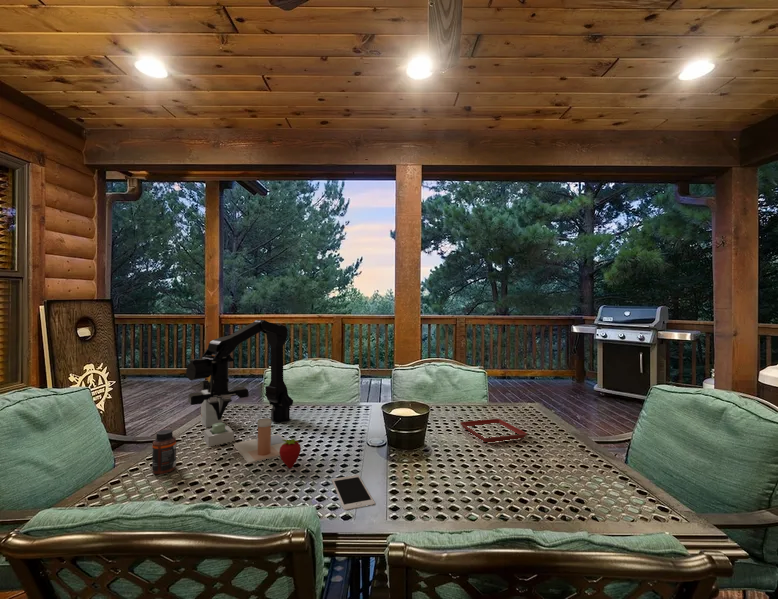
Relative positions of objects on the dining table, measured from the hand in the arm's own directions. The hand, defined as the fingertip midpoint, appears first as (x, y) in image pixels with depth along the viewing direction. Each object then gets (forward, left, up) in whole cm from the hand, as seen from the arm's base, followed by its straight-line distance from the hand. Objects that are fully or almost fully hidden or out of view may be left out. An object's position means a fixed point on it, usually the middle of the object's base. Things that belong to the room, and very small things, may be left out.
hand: (219, 419), depth 130 cm
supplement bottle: (+18, +15, -8) cm, 25 cm away
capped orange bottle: (-9, +21, -7) cm, 24 cm away
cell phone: (-20, +57, -8) cm, 61 cm away
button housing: (0, 0, -7) cm, 7 cm away
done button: (0, 0, -5) cm, 5 cm away
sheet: (-11, +16, -8) cm, 21 cm away
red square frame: (-84, +53, -8) cm, 100 cm away
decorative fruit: (-12, +35, -8) cm, 38 cm away
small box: (-2, -21, -8) cm, 22 cm away
